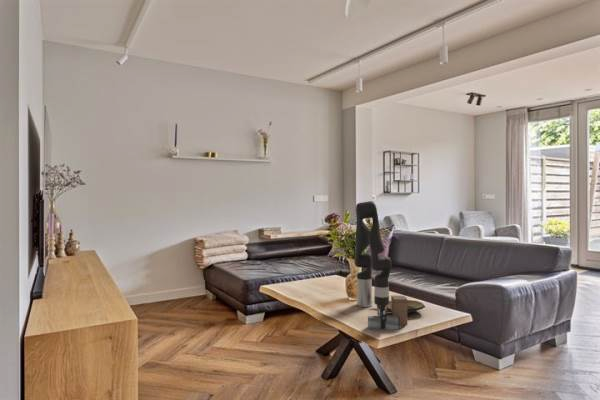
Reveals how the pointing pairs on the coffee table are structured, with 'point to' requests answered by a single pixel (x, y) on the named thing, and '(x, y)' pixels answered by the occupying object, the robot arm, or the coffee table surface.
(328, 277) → the coffee table surface
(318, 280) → the coffee table surface
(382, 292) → the robot arm
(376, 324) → the gray rectangular block
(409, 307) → the cracked wood slice
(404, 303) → the dark u-channel
